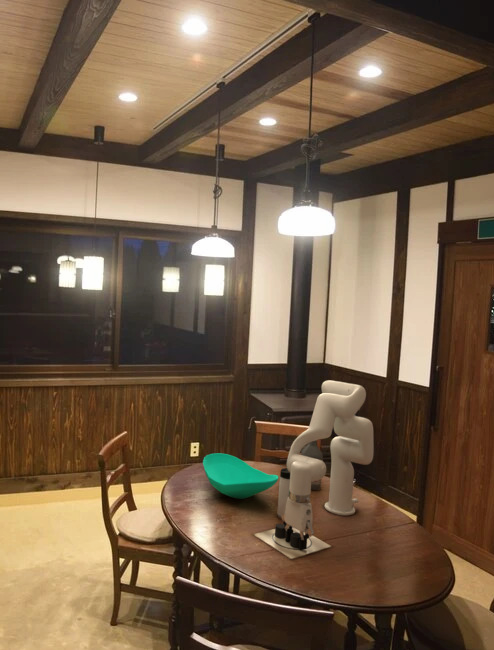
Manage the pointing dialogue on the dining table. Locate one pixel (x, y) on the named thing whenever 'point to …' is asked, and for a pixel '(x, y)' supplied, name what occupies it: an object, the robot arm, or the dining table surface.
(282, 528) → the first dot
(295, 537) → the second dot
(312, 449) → the liquor
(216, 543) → the dining table surface
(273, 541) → the drawing board
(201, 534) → the dining table surface
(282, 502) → the travel mug
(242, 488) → the table top decor
